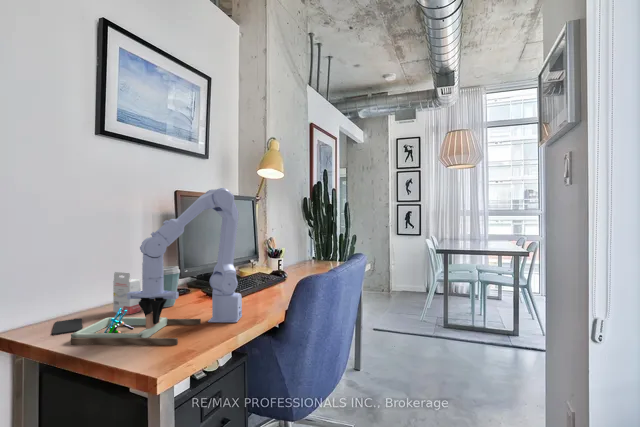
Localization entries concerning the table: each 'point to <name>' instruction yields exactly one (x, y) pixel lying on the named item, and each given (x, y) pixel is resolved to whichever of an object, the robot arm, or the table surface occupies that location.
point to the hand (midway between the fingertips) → (153, 323)
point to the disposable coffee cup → (171, 282)
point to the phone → (67, 326)
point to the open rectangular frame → (148, 321)
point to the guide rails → (136, 340)
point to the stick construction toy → (117, 323)
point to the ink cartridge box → (125, 293)
